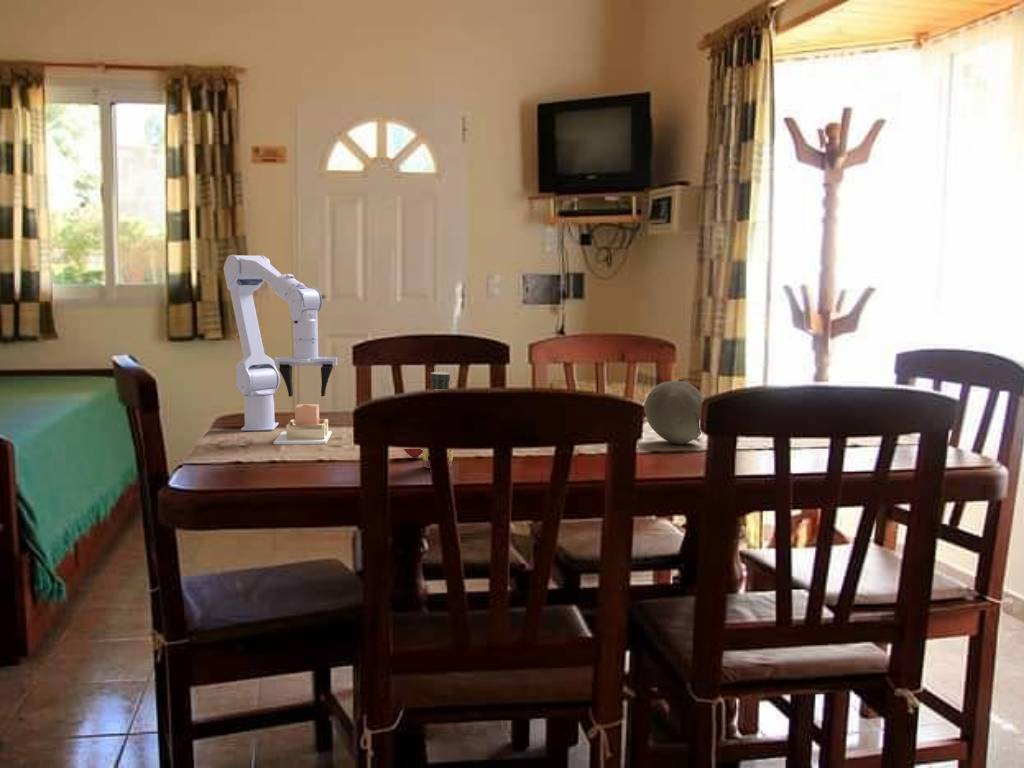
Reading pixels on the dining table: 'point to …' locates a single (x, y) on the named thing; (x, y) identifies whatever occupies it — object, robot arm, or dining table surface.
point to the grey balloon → (674, 411)
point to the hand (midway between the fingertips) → (307, 395)
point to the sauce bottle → (438, 382)
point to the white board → (283, 440)
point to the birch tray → (307, 430)
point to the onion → (414, 452)
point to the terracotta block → (307, 414)
